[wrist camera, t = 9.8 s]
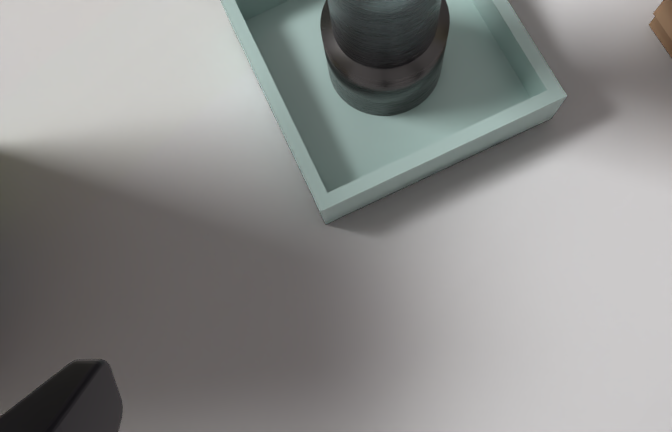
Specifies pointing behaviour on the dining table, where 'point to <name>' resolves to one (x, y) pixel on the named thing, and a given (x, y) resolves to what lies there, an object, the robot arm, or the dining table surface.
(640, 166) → the dining table surface
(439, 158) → the tray
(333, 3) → the grey cylinder
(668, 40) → the socket block
